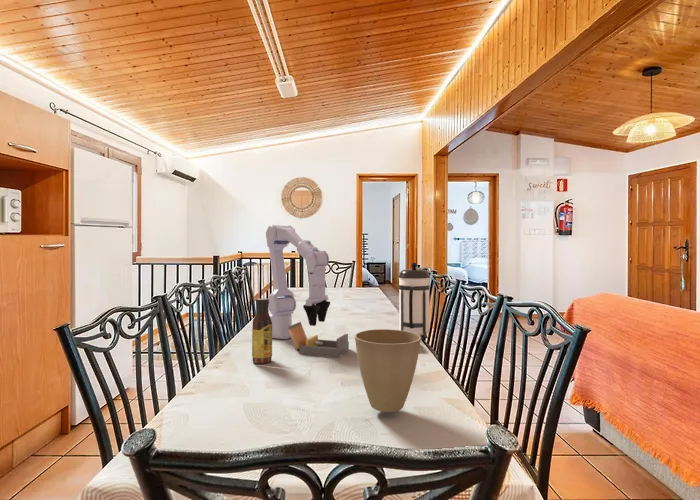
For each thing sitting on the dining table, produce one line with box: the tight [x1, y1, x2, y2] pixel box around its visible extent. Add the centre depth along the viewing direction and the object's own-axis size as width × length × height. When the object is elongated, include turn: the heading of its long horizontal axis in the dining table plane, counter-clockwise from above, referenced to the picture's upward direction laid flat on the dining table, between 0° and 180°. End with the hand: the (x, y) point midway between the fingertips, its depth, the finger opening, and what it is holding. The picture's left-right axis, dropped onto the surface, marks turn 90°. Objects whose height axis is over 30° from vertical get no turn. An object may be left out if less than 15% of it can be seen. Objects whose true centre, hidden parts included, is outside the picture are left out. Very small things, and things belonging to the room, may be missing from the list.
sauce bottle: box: [251, 298, 273, 365], centre depth 123 cm, size 6×6×20 cm
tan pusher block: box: [306, 334, 323, 347], centre depth 135 cm, size 4×8×4 cm, turn 161°
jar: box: [287, 321, 308, 351], centre depth 138 cm, size 5×5×8 cm
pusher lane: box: [298, 333, 350, 359], centre depth 134 cm, size 14×11×6 cm
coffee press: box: [398, 262, 431, 339], centre depth 156 cm, size 17×16×30 cm
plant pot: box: [354, 328, 422, 413], centre depth 88 cm, size 15×15×16 cm
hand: (317, 323), depth 138 cm, fingers open, 7 cm apart
